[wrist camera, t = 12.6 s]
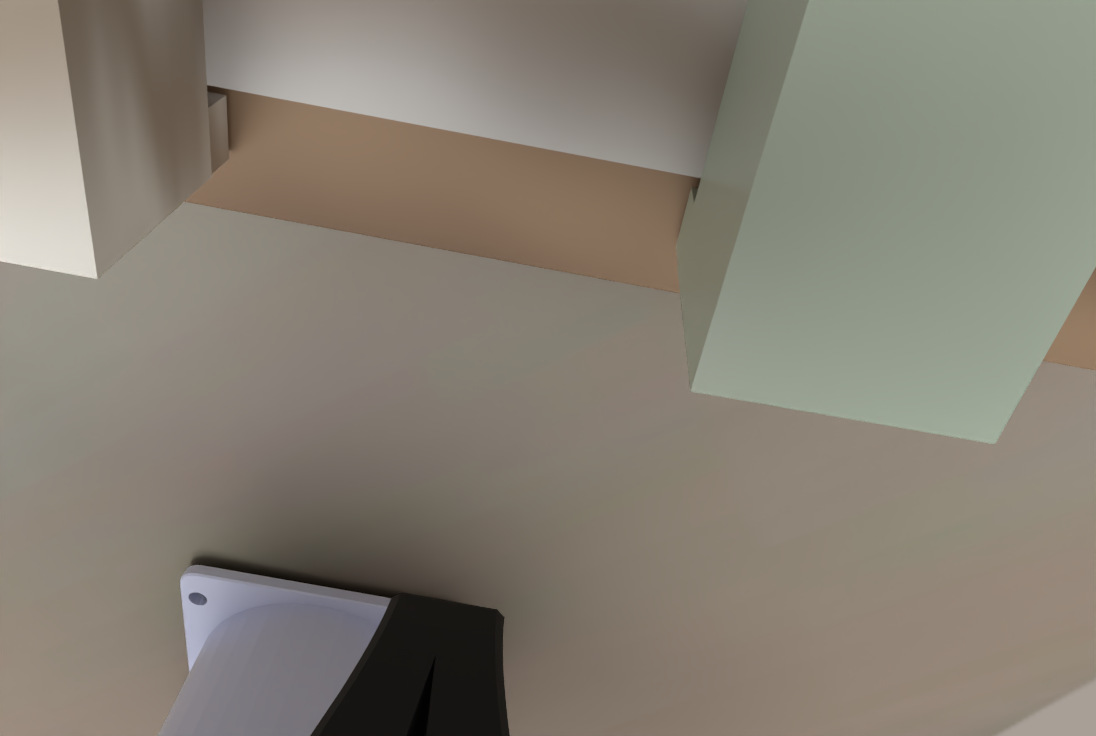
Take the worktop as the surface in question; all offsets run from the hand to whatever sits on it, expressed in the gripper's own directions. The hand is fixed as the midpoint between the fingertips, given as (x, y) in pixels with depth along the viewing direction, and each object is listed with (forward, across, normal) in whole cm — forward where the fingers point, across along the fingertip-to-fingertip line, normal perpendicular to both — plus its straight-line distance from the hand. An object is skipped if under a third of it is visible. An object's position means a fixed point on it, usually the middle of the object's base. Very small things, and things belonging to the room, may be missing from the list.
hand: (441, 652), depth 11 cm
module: (+8, -5, -6) cm, 11 cm away
